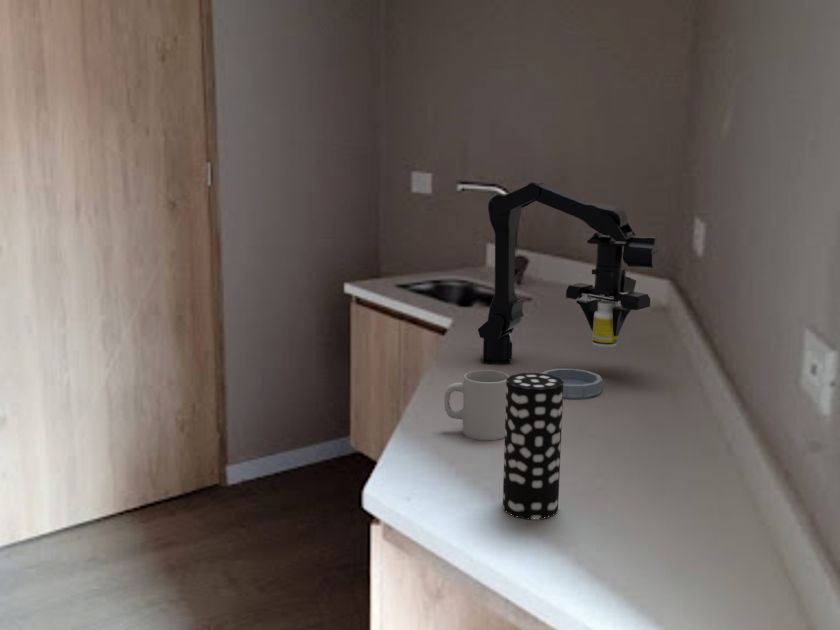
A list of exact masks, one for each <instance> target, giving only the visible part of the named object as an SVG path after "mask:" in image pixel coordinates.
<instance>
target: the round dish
mask: <svg viewBox="0 0 840 630" xmlns="http://www.w3.org/2000/svg"><path fill="white" fill-rule="evenodd" d="M541 373H542V374H548V375H553V376H556V377H559V378H560V379H562V380H563V382H564V385H563V399H566V400H567V399H568V400H569V399H570V400H585V399H591V398H596V397H598V396H600V395H601V393H602V389H603V378H602V377H601V375H600V374H598V373H595V372H593V371H590V370H585V369H577V368H555V369H554V368H553V369H547V370H544V371H543V372H541Z"/></svg>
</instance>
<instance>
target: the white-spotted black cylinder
mask: <svg viewBox="0 0 840 630" xmlns="http://www.w3.org/2000/svg"><path fill="white" fill-rule="evenodd" d="M542 373H543V372H538V373H537V372H521V373H516V374H512V375H509V377H508V378H507V380H506V411H505V437H504V444H503V445H504V447H503V449H504V450H503V483H502V487H503V488H502V509H503V508H504V509H503V511H505V512H506V511H507V512H508V513H509V514H508V513H507V512H506V513H507V514H508V515H510V514H512V515H514V516H513V517H515V516H518V517H524V518H529V519H528V520H539V519H538V518H544V517H548V516H551V515H553V514H555V513H556V512H557V511H559V496H560V495H559V493H560V472H561V470H560V468H561V450H562V449H561V448H562V430H563V429H562V425H563V405H564V404H563V403H564V402H563V401H564V398H563V385H564V382H563V380H562V379H560V378H559V377H556V376H553V375H548V374H542ZM557 513H558V512H557ZM557 513H556V514H557ZM556 514H555V515H556ZM512 515H511V516H512ZM553 516H554V515H553ZM518 517H517V518H518ZM551 517H552V516H551ZM534 518H535V519H534Z"/></svg>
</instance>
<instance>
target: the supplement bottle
mask: <svg viewBox="0 0 840 630" xmlns="http://www.w3.org/2000/svg"><path fill="white" fill-rule="evenodd" d="M614 307H617V302H614V301H609V300H601V301H598V311H596V312H595V313H594V322H593V332H592V339H591V341H592V342H591V343H592V346H595V347H598V348H613V347H616V346H617V345H618V344H617V342H618V336H616V337H615V336H614V333H613V312H612V308H614Z"/></svg>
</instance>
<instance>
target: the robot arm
mask: <svg viewBox="0 0 840 630" xmlns="http://www.w3.org/2000/svg"><path fill="white" fill-rule="evenodd" d="M534 202H537V203H541V204H542V205H545V206H548V207H550V208H553V209H555V210H557V211H561V212H562V213H566V214H567V215H569V216H571V217H574V218H577V219H580V220H581V221H582V222H584V223H585V225H587V226H589V227H590V228H591V229H593V230H594V231H596V232H594V234H593V235H592V236H591V237H590V238H589V239H588V240H587V241H586V242H587V244H591V245H596V249H595V250H596V252H595V268H594V269H591V275H594V285H593V284H588V283H582V282H578V283H574V284H569V285H568V286H567V288H566V289H565V298H566V299H572V300H575V301H576V304H577V305H579V306H580V308H581V310H582V312H583V313H584V315H585V316H584V317H585V318H586V320H587V322H588V325H589V327H590V330H591V331H592V333H593V322H594V313H595V312H596V311H598V301H614V302H616V303H617V305H616V307H614V308H612V312H613V333H614V336H615V337H616V336H617V337H618V336H619V334H620V332H621V329H622V328H623V325H624V323H625V320H626V319H627V317H628V315H629V313H630V312H631V311H639V310H643V309H646V308H649V307H651V297H650V296H649V294H648V293H643V292H637V291H635V289H636V288H635V287H636V283H637V280H636V279H633V278H631V277H629V276H626V275H627V273H626V272H627V271H626V269H625V268H623V262H624V264H626V265H627V266H628V267H629V268H638V269H639V268H640V269H647V270H648V269H650V270H651V269H652V270H655V269H656V268H657V266H658V263H659V259H660V251H659V244H658V243H657V242H658V237H656V236H648V237H647V236H637V234H636V233H635V231H634V230H633V227H632V226H631V225H630V224H629V222H628V216H627V213H626V211H625V209H623V208H621V207H619V206H614V205H609V204H605V203H597V202H592V201H591V202H590V201H588V200H585V199H583V198H580V197H578V196H575V195H573V194H571V193H569V192H566V191H563V190H561V189H558V188H555V187H553V186H550V185H548V184H546V183H544V182H543V181H540V180H539V181H533V182H529V183H528V184H527V185H525V186H524V187H521V188H519V189H516V190H514V191H511V192H507V193H502V194H496V195H494V196H493V197H491V198H490V200H489V202H488V204H487V210H488V218H489V222H490V225H491V227H492V230H493V232H494V294H493V297H492V300H491V303H490V304H489V305H490V306H489V310H488V316H487V320H486V321H485V322H484V323H483V324H482V325H481V326H480V327H479V328H478V329H477V332H478V335H479V338H480V339H482V345H481V346H482V348H481V349H482V350H481V351H482V352H481V353H482V354H481V355H480V356H481V361H482V363H483V364H511V360H512V359H513V342H512V340H511V336H510V334H512V333H513V331H514V329H515V327H517V326H518V325H519V324H520V323H521V320H522V318H523V317H524V312H523V307H524V300H523V299H518V298H517V295H516V291H515V284H516V283H515V281H516V280H515V276H516V275H515V273H516V267H515V266H516V265H515V264H516V259H515V258H516V256H515V255H516V231H517V227H518V226H519V223H520V220H521V216H522V215H521V214H522V211H523V208H526V207H527V206H530V205H532V204H534ZM622 293H623V294H622Z"/></svg>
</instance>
